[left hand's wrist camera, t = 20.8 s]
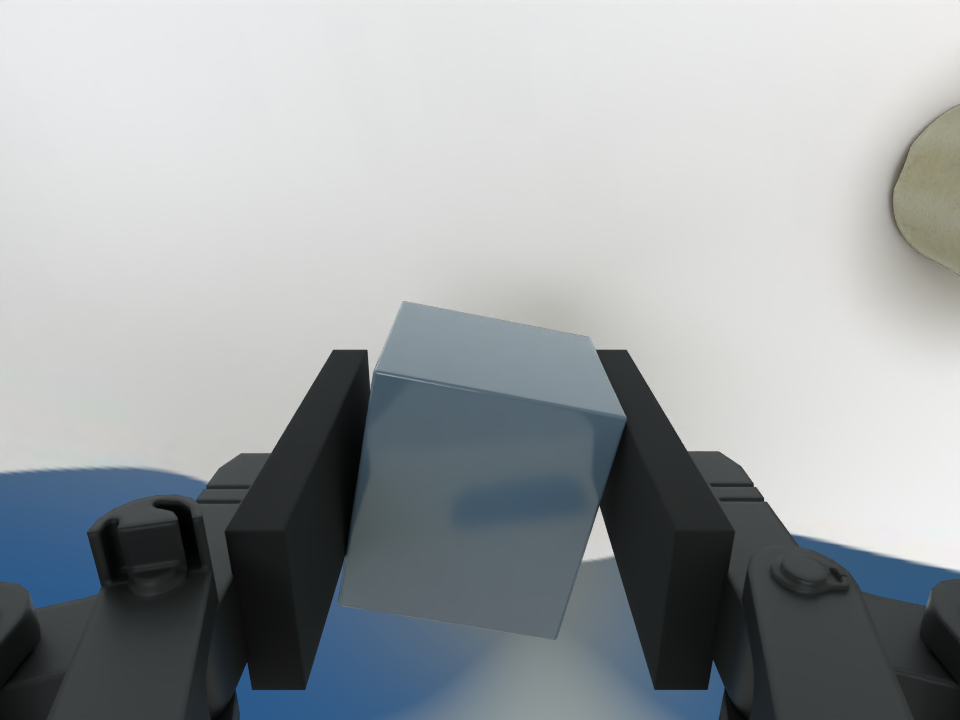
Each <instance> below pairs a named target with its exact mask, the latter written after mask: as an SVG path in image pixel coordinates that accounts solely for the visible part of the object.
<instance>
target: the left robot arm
mask: <svg viewBox="0 0 960 720" xmlns="http://www.w3.org/2000/svg"><path fill="white" fill-rule="evenodd" d="M596 352H597V354H598V356H599V358H600V361H601V363H602V365H603V367H604V369H605V371H606V374H607V376H608V378H609V380H610V382H611V384H612V386H613V389H614V391H615V393H616V395H617V397H618V399H619V401H620V404H621V406H622V408H623V410H624V412H625V414H626V416H627V421H626V424H625V427H624V430H623V433H622V436H621V439H620V443H619V446H618V449H617V452H616V455H615V458H614V461H613V465H612V468H611V471H610V474H609V477H608V480H607V483H606V486H605V490H604V493H603V496H602V499H601V502H600V509H601V512H602V515H603V519H604V522H605V525H606V529H607V532H608V535H609V539H610V542H611V545H612V549H613V552H614V555H615V559H616V562H617V565H618V569H619V572H620V575H621V579H622V582H623V585H624V589H625V592H626V596H627V599H628V602H629V606H630V609H631V612H632V616H633V619H634V622H635V625H636V629H637V632H638V636H639V639H640V642H641V646H642V649H643V652H644V655H645V659H646V662H647V666H648V669H649V672H650V676H651V679H652V683H653V686H654V689H655V690H707V689H708V684H709V679H710V673H711V667H712V662H713V660H714V662H715V665H716V667H717V670H718V672H719V674H720V677H721V679H722V682H723V684H724V686H725V689H724V694H723V700H722V705H721V710H720V716H719V720H960V579H954V580H947V581H941V582H940V583H939V584H937V585H936V586H935V587H934V588H932V590H931V593H930V596H929V599H928V602H927V605H926V606H922V605H918V604H913V603H908V602H903V601H899V600H894V599H890V598H885V597H880V596H876V595H872V594H869V593H865V592H862V591H861V590H860V588H859V586H858V584H857V583H856V581H855V580H854V578H853V577H852V576H851V574H850V573H849V572H848V571H847V570H846V569H844V568H843V567H842V566H840V565H839V564H838V563H836V562H835V561H834V560H832V559H830V558H828V557H826V556H824V555H821V554H819V553H817V552H815V551H813V550H809V549H805V548H801V547H799V546H798V544H797V543H796V542H795V540H794V539H793V537H792V536H791V535H790V533H789V532H788V530H787V529H786V528H785V526H784V525H783V524H782V522H781V521H780V519H779V518H778V517H777V515H776V514H775V512H774V511H773V510H772V508H771V507H770V506H769V504H768V503H767V502H764V497H763V496H762V494H761V493H760V492H759V490H758V489H757V488H756V487H754V483H753V482H752V481H751V479H750V478H749V477H748V475H747V474H746V472H745V471H744V470H743V468H742V467H741V466H740V465H738V464H737V463H735V462H734V461H732V460H731V459H729V458H728V457H726V456H725V455H723V454H722V453H721V452H719V451H687V450H686V448H685V446H684V445H683V443H682V441H681V440H680V438H679V436H678V435H677V433H676V431H675V430H674V428H673V426H672V425H671V423H670V421H669V420H668V418H667V416H666V415H665V413H664V411H663V410H662V408H661V406H660V405H659V403H658V401H657V400H656V398H655V396H654V395H653V393H652V391H651V390H650V388H649V386H648V385H647V383H646V381H645V380H644V378H643V376H642V375H641V373H640V371H639V370H638V368H637V366H636V365H635V363H634V361H633V360H632V358H631V356H630V355H629V353H628V351H627V350H596ZM369 397H370V381H369V366H368V352H367V350H333V351H332V353H331V354H330V356H329V358H328V359H327V361H326V363H325V364H324V366H323V368H322V369H321V371H320V373H319V374H318V376H317V378H316V379H315V381H314V383H313V384H312V386H311V388H310V389H309V391H308V393H307V394H306V396H305V398H304V399H303V401H302V403H301V404H300V406H299V408H298V409H297V411H296V413H295V414H294V416H293V418H292V419H291V421H290V423H289V424H288V426H287V428H286V429H285V431H284V433H283V434H282V436H281V438H280V439H279V441H278V443H277V444H276V446H275V448H274V449H273V451H272V453H241V454H240V455H238V456H237V457H235V458H234V459H232V460H231V461H229V462H228V463H226V464H225V465H223V466H222V467H220V468H219V469H218V471H217V472H216V473H215V475H214V476H213V478H212V479H211V480H210V482H209V483H208V484H207V488H206V489H204V490H203V491H202V493H201V494H200V496H199V497H198V498H197V500H196V501H195V500H193V499H192V498H188V497H184V496H180V495H156V496H151V497H147V498H142V499H138V500H134V501H131V502H129V503H127V504H124V505H122V506H119V507H117V508H114V509H113V510H111V511H110V512H108V513H107V514H105V515H104V516H102V517H101V518H99V519H98V520H97V521H96V522H95V523H94V524H93V526H92V527H91V528H90V529H89V531H88V532H87V534H88V538H89V542H90V546H91V549H92V553H93V557H94V560H95V564H96V568H97V572H98V575H99V579H100V583H101V586H102V587H101V589H100V591H99V594H98V595H94V596H90V597H87V598H83V599H78V600H74V601H69V602H64V603H60V604H55V605H50V606H46V607H42V608H37V609H34V606H33V603H32V600H31V596H30V593H29V591H27V590H26V589H25V588H23V587H22V586H21V585H20V584H14V583H8V582H0V720H239V719H240V712H239V706H238V700H237V694H236V687H237V684H238V682H239V680H240V677H241V675H242V672H243V670H244V668H245V665H246V663H248V669H249V674H250V680H251V686H252V690H305V689H306V685H307V682H308V679H309V675H310V672H311V668H312V665H313V662H314V658H315V655H316V652H317V648H318V645H319V642H320V638H321V635H322V632H323V628H324V625H325V622H326V618H327V615H328V612H329V608H330V605H331V602H332V598H333V595H334V592H335V588H336V585H337V582H338V578H339V575H340V571H341V568H342V565H343V561H344V558H345V553H346V547H347V540H348V534H349V527H350V520H351V514H352V507H353V501H354V494H355V488H356V481H357V475H358V468H359V462H360V455H361V449H362V442H363V436H364V429H365V423H366V416H367V410H368V403H369Z"/></svg>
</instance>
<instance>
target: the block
mask: <svg viewBox="0 0 960 720" xmlns="http://www.w3.org/2000/svg"><path fill="white" fill-rule="evenodd" d="M626 421H627V416H626V414H625V412H624V410H623V408H622V406H621V404H620V401H619V399H618V397H617V395H616V393H615V391H614V389H613V386H612V384H611V382H610V380H609V378H608V376H607V374H606V371H605V369H604V367H603V365H602V363H601V361H600V358H599V356H598V354H597V352H596V350H595V348H594V346H593V343H592V341H591V339H590V338H589V337H586V336H581V335H576V334H570V333H565V332H560V331H555V330H550V329H545V328H540V327H534V326H529V325H524V324H519V323H514V322H509V321H503V320H498V319H493V318H488V317H483V316H478V315H473V314H467V313H462V312H457V311H452V310H447V309H442V308H437V307H431V306H426V305H421V304H416V303H411V302H406V301H403V302H402V303H401V305H400V308H399V310H398V313H397V315H396V318H395V320H394V323H393V325H392V327H391V330H390V332H389V335H388V337H387V340H386V342H385V345H384V347H383V350H382V352H381V354H380V357H379V359H378V362H377V364H376V367H375V369H374V372H373V377H372V384H371V390H370V397H369V403H368V410H367V416H366V423H365V429H364V436H363V442H362V449H361V455H360V462H359V468H358V475H357V481H356V488H355V494H354V501H353V507H352V514H351V520H350V527H349V534H348V540H347V547H346V553H345V560H344V566H343V573H342V579H341V586H340V592H339V599H338V603H339V605H340V606H346V607H352V608H358V609H364V610H370V611H377V612H383V613H389V614H396V615H402V616H408V617H414V618H420V619H427V620H433V621H439V622H446V623H452V624H459V625H465V626H471V627H477V628H483V629H489V630H496V631H502V632H508V633H515V634H521V635H527V636H533V637H540V638H546V639H552V640H556V639H557V636H558V633H559V630H560V627H561V624H562V621H563V618H564V614H565V611H566V608H567V605H568V602H569V599H570V596H571V593H572V590H573V586H574V583H575V580H576V577H577V574H578V571H579V567H580V564H581V561H582V558H583V555H584V552H585V549H586V546H587V543H588V540H589V536H590V533H591V530H592V527H593V524H594V521H595V518H596V515H597V511H598V508H599V505H600V502H601V499H602V496H603V493H604V490H605V486H606V483H607V480H608V477H609V474H610V471H611V468H612V465H613V461H614V458H615V455H616V452H617V449H618V446H619V443H620V439H621V436H622V433H623V430H624V427H625V424H626Z"/></svg>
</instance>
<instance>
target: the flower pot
mask: <svg viewBox="0 0 960 720" xmlns="http://www.w3.org/2000/svg"><path fill="white" fill-rule="evenodd" d="M893 208H894V214H895V219H896V222H897V225H898V228H899V230H900V231H901V233H902V235H903V237H904V238H905V239H906V240H907V242H908V243H909V244H910V245H911V246H912V247H913V248H914V249H915V250H916V251H917V252H919V253H920V254H922V255H924V256H925V257H927V258H930V259H932V260H934V261H936V262H937V263H939V264H941V265H943V266H945V267H946V268H948V269H950V270H952V271H953V272H955V273H957V274H959V275H960V105H958V106H956V107H954V108H952V109H950V110H949V111H947V112H946V113H944V114H943V115H941V116H940V117H939V118H937V119H936V120H935V121H934V122H933V123H932V124H930V125H929V126H928V127H927V128H926V129H925V130H924V131H923V132H922V133H921V134H920V135H919V137H918V138H917V139H916V140H915V141H914V143H913V144H912V146H911V147H910V150H909V153H908V156H907V159H906V162H905V164H904V167H903V169H902V172H901V174H900V176H899V179H898V181H897V183H896V186H895V188H894V193H893Z"/></svg>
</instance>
